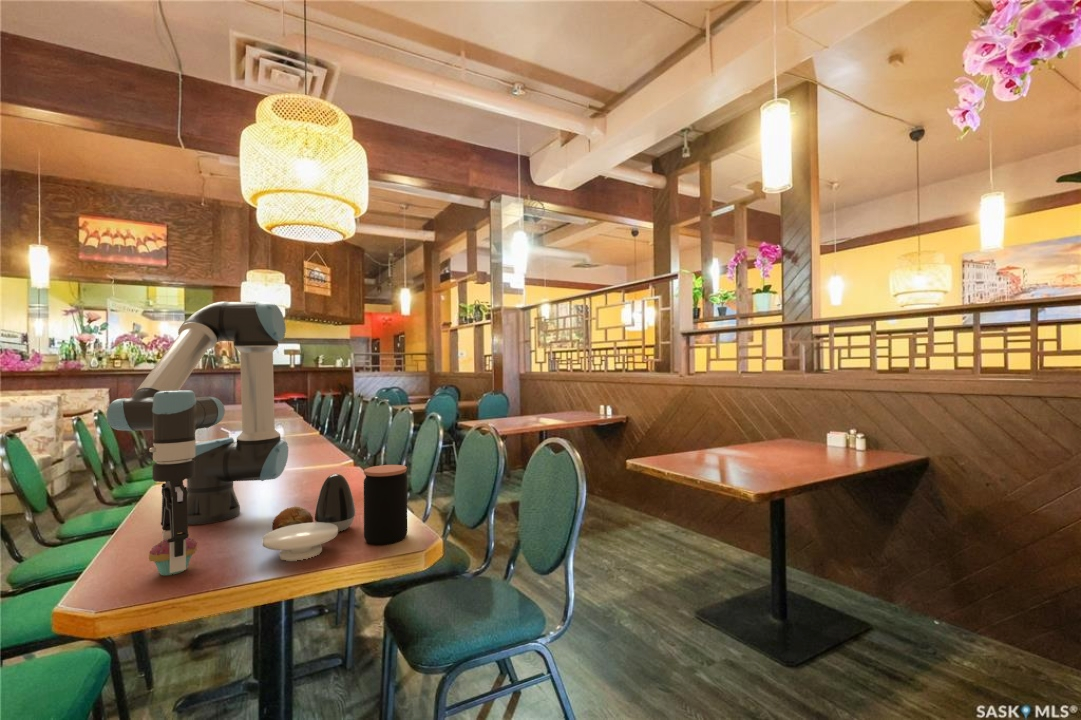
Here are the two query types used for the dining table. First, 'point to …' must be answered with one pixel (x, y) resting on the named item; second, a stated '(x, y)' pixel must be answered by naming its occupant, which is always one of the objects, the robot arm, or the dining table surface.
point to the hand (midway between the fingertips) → (173, 565)
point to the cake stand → (300, 540)
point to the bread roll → (292, 517)
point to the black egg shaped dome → (335, 503)
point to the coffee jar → (385, 504)
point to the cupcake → (162, 555)
